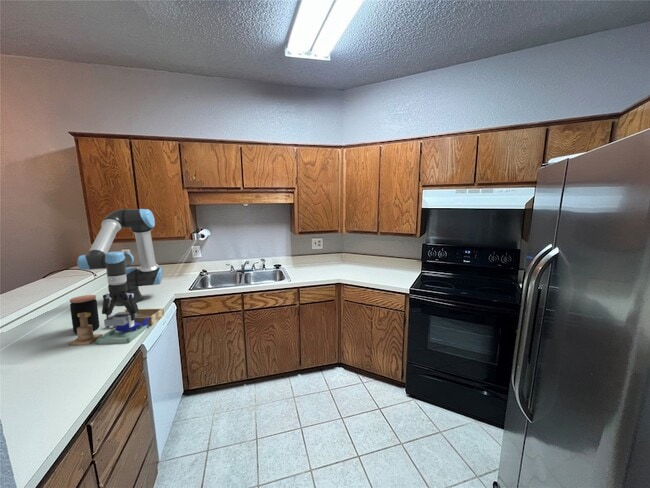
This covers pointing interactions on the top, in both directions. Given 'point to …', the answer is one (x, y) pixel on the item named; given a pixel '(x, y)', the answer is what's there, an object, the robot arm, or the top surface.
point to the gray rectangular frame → (118, 319)
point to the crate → (148, 316)
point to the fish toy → (126, 327)
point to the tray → (120, 336)
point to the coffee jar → (84, 305)
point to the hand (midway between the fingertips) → (121, 326)
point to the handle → (84, 331)
